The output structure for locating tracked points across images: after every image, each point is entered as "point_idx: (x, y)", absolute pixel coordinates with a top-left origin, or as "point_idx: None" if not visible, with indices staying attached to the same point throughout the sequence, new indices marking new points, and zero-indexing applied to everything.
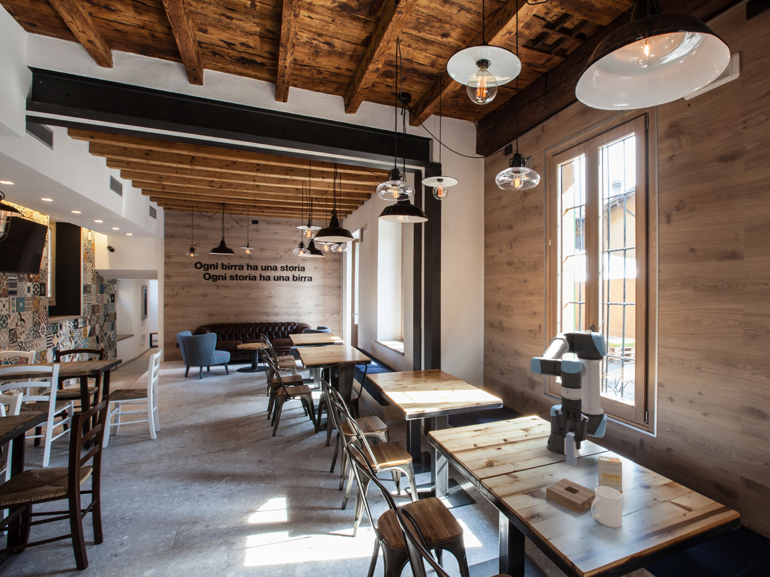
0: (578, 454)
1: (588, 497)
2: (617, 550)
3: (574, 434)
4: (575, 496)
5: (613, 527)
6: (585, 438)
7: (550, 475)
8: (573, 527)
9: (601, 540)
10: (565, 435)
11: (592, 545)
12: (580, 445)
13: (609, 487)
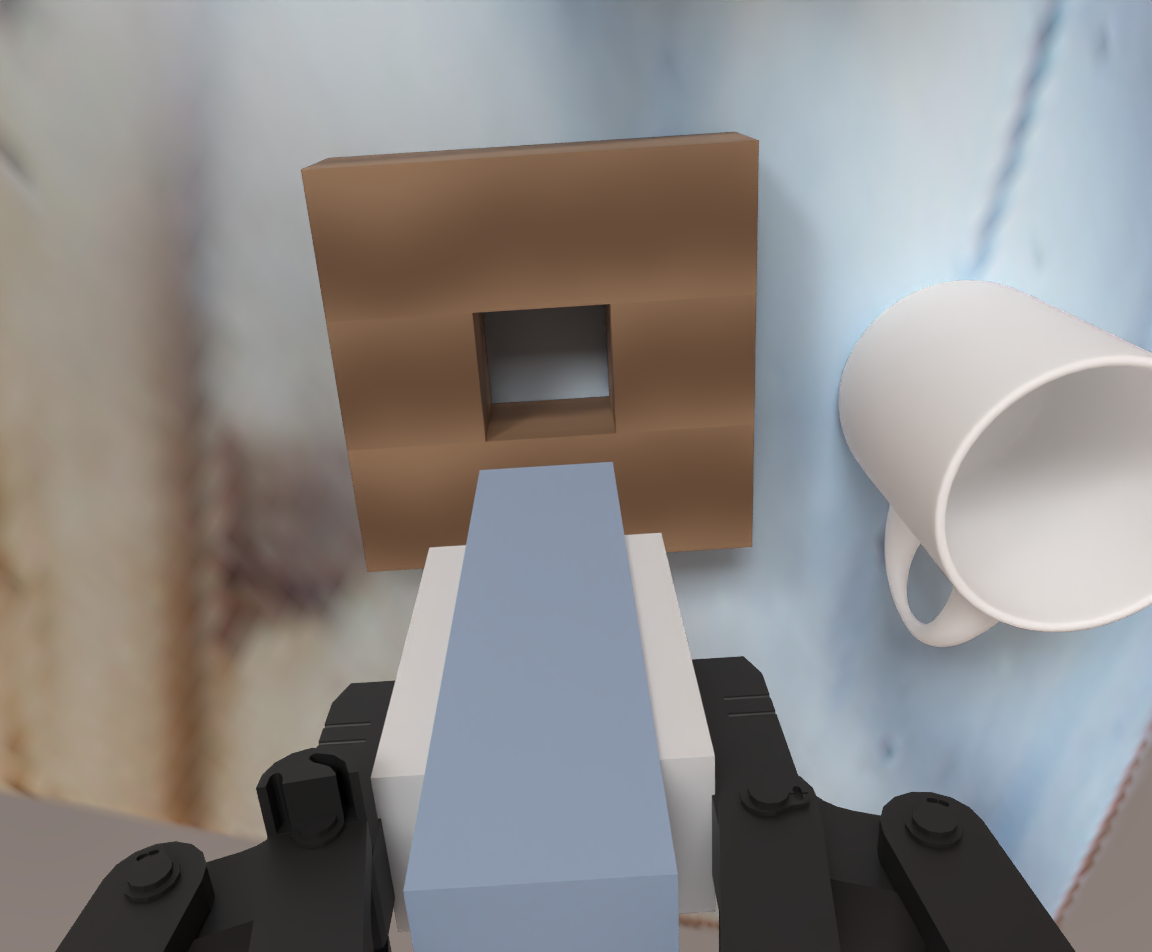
0: (664, 559)
1: (743, 360)
2: (1113, 678)
3: (627, 935)
4: (649, 466)
5: (1012, 450)
6: (997, 877)
7: (14, 13)
8: (788, 700)
9: (995, 670)
10: (379, 940)
11: (971, 763)
12: (777, 730)
13: (1063, 375)
